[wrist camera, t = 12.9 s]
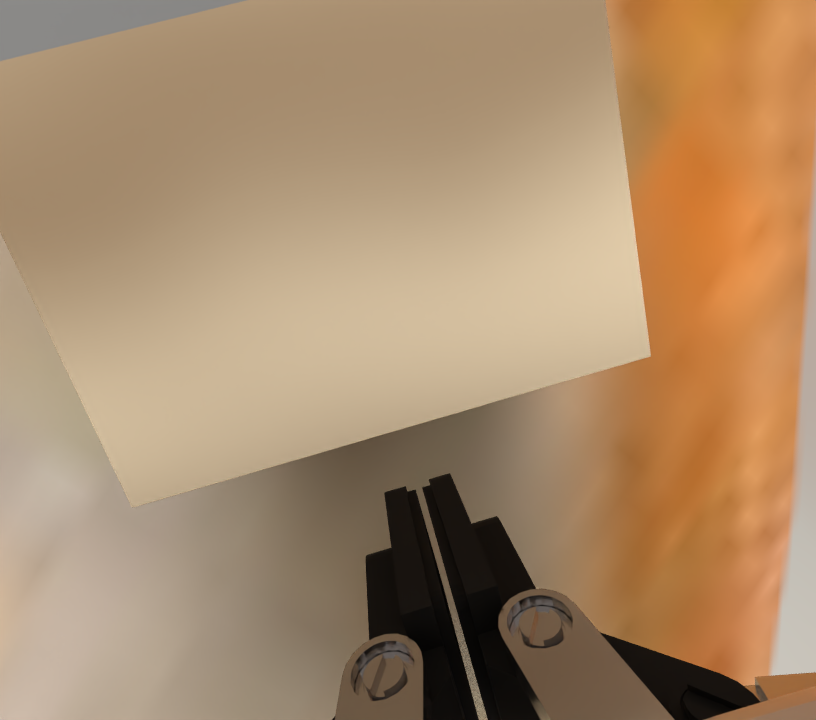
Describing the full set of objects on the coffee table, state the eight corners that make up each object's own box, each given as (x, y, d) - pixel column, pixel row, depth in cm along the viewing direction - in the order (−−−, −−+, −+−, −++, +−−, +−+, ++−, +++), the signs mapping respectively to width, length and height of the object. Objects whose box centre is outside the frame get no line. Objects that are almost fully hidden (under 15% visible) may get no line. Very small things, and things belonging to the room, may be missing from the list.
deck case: (463, 282, 17) (651, 356, 6) (270, 336, 17) (132, 508, 6) (429, 133, 16) (593, -85, 5) (219, 188, 15) (-73, 79, 5)
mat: (622, 275, 18) (629, 276, 18) (123, 414, 17) (116, 420, 17) (522, -460, 13) (529, -487, 12) (-205, -312, 12) (-229, -336, 11)
